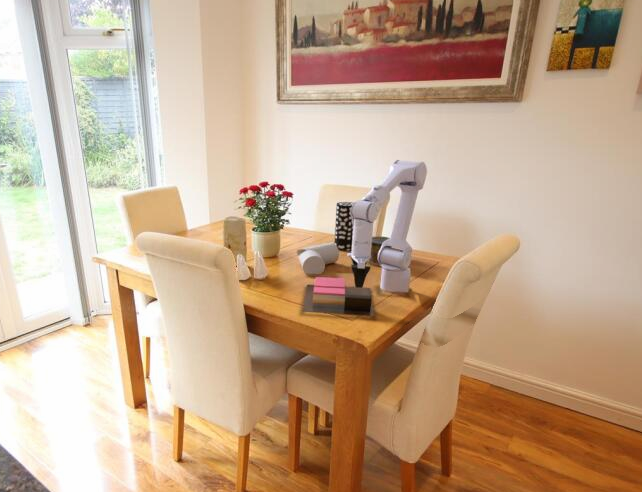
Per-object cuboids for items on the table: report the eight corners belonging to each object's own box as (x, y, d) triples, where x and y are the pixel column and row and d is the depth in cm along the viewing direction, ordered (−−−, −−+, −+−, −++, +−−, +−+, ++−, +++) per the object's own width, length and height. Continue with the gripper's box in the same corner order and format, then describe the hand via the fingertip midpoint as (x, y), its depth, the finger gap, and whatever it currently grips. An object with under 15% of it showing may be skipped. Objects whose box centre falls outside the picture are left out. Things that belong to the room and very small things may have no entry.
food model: (248, 262, 193) (247, 215, 185) (245, 268, 187) (244, 219, 179) (225, 261, 195) (224, 215, 187) (221, 266, 189) (219, 219, 181)
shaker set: (268, 277, 176) (268, 249, 172) (268, 281, 173) (268, 253, 168) (237, 276, 178) (236, 249, 173) (236, 280, 174) (235, 252, 169)
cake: (344, 289, 161) (344, 278, 159) (344, 298, 154) (344, 287, 152) (315, 287, 163) (315, 276, 161) (313, 296, 156) (314, 285, 154)
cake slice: (344, 299, 152) (344, 288, 151) (344, 305, 148) (345, 293, 147) (313, 297, 154) (314, 286, 153) (312, 303, 150) (313, 292, 149)
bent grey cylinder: (290, 257, 193) (296, 274, 175) (296, 233, 189) (303, 248, 171) (331, 265, 195) (341, 282, 177) (338, 241, 191) (349, 256, 173)
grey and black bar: (370, 308, 146) (371, 295, 144) (370, 311, 143) (371, 298, 142) (312, 305, 149) (313, 292, 147) (312, 308, 147) (312, 295, 145)
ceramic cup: (396, 265, 186) (398, 241, 182) (375, 268, 182) (377, 244, 178) (376, 256, 197) (378, 233, 193) (356, 259, 193) (358, 236, 189)
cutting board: (369, 290, 162) (370, 287, 161) (374, 319, 141) (374, 316, 141) (307, 287, 166) (307, 284, 166) (302, 314, 145) (302, 311, 145)
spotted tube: (330, 246, 211) (333, 202, 203) (347, 244, 213) (349, 201, 205) (339, 251, 203) (342, 206, 196) (356, 249, 206) (359, 204, 198)
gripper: (348, 233, 146) (345, 273, 151) (348, 247, 133) (345, 290, 138) (371, 234, 145) (367, 274, 150) (373, 248, 132) (369, 291, 137)
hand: (358, 282), depth 144 cm, fingers open, 7 cm apart
